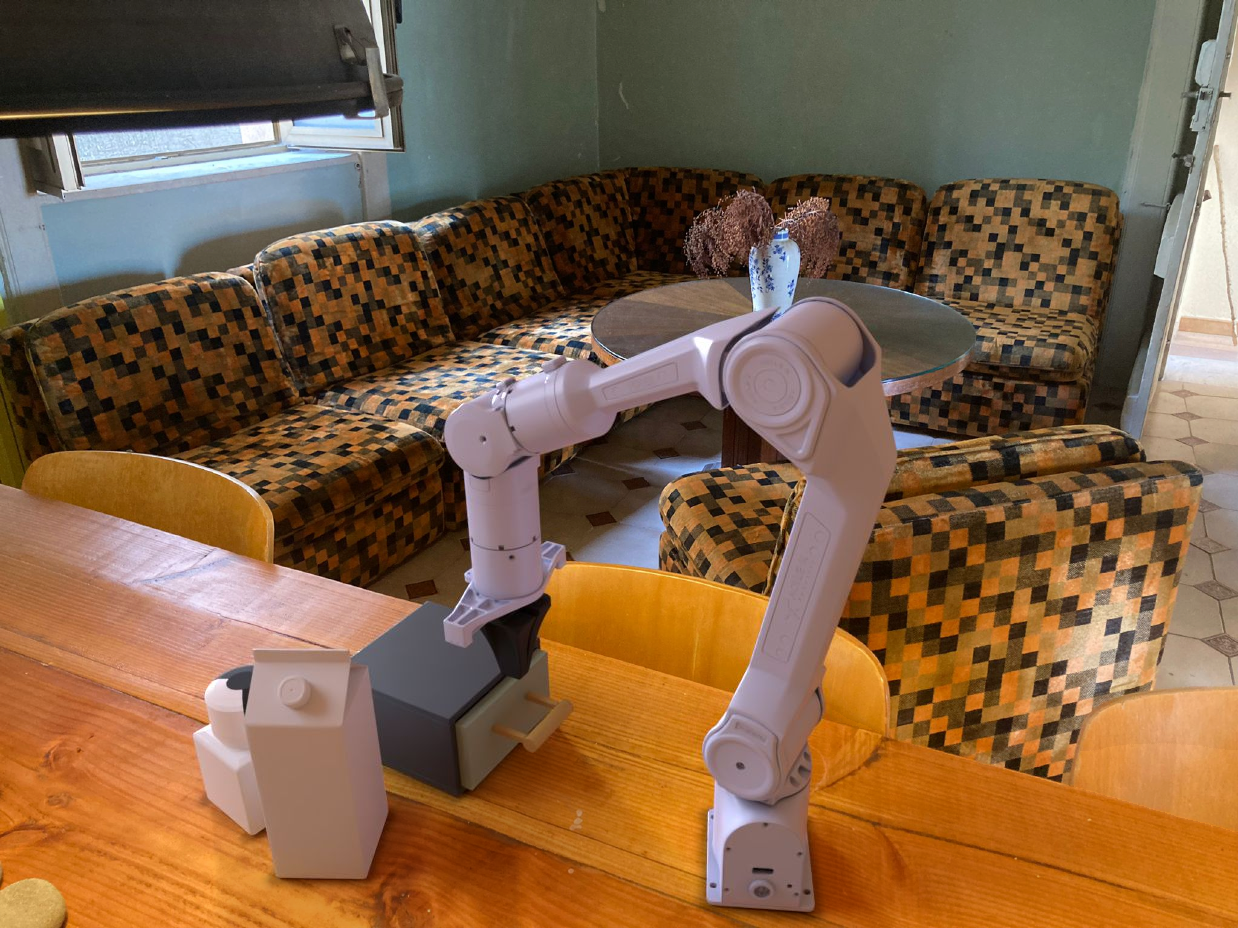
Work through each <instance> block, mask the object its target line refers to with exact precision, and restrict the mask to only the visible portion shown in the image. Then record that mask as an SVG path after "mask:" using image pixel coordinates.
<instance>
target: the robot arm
mask: <svg viewBox="0 0 1238 928" xmlns="http://www.w3.org/2000/svg"><path fill="white" fill-rule="evenodd" d="M781 307H782V306H781V305H777V306H771V307H767V308H762V309H759V310H755V311H753V312H747V313H745V314H742V315H738V316H735V317H732V318H728V319H726V320H722V321H719V322H715V323H713V324H710V325H708V326H705V327H703V328H700V329H697V330H695V331H693V332H690V333H688V334H686V335H683V336H681V337H678V338H676V339H673V340H671V341H668V342H666V343H664V344H661V345H658V346H656V347H653V348H652V349H649V350H646V351H644V352H641V353H638V354H636V355H634V356H631V357H628V358H626V359H624V360H622V361H619V362H617V363H615V364H612V365H610V366H607V367H604V368H603V367H601V366H600V365H598V364H596V363H595V362H594V361H591V360H588V359H585V358H576V359H573V360H570V361H568V359H567V357H566V356H565V355H560V356H557V357H555V358H552V359H550V360H548V361H546V362H544V363H542V364H541V369H542V371H541V372H538V373H536V374H533V375H530V376H528V377H526V378H525V377H524V378H523V379H520V380H518V381H517V379H516V378H515V377H514V376H511V377H507V378H506V379H503V380H501V381H499V382H498V383H496V387H495V388H493V389H492V390H489V391H487V392H485V393H483V394H481V395H480V396H478V397H477V396H476V398H474V399H471V400H469V401H466V402H463V403H461V404H460V405H459V406H458V407H457V408H456V409H454V410H453V411H451V412H450V414H449V415H448V416H447V418H446V420H445V423H444V431H443V433H444V434H443V435H444V441H445V445H446V449H447V451H448V453H449V455H450V456H451V458H452V460H453V461H454V462H455V463H456V465H457V466H458V467H459V468H461V470H463V479H464V490H465V500H466V513H467V524H468V536H469V547H470V557H471V558H470V559H471V568H469V569H468V570H467V571H466V572H465V573H464V581H465V582H466V583H468V586H467V588H466V589H465V591H464V593H463V595H462V596H461V598H460V600H459V602H458V603H457V605H456V606H455V608H454V609H455V610H454V611H453V612H452V614H451V615H450V616H449V617H447V618H446V619H445V620H444V621H443V622H444V631H445V641H447V642H449V643H452V644H454V645H457V646H461V647H464V648H466V647H467V646H468V645H470V644H471V643H472V642H473V640H472V635H473V634H474V633H475V632H476V631H477V630H479V629H480V630H481V632H482V633H483V635H484V636H485V638H486V639H487V641H488V643H489V645H490V647H491V649H492V651H493V653H494V656H495V658H496V660H497V663H498V666H499V668H500V671H501V673H502V674H504V675H506V676H509V677H512V678H515V679H518V680H520V679H522V678H523V677H524V676H525V675H526V674H527V673H528V671H529V668H530V664H531V660H532V655H533V650H534V646H535V642H536V638H537V637H538V635H539V632H540V629H541V626H542V624H543V621H544V620H545V617H546V616H547V614H548V612H549V610H550V609H551V607H552V597H551V595H550V594H548V593H546V592H545V591H546V589H547V587H548V584H549V583H550V580H551V578H552V576H553V573H554V572H555V569H556V570H561V569H562V568H564V567H565V566H566V565H567V552H566V551H567V549H566V547H567V546H565V545H563V544H560V543H556V542H553V541H549V540H546V541H545V542H544V543H542V533H541V532H542V531H541V515H540V514H541V513H540V497H539V496H540V495H539V475H538V474H539V473H538V468H539V467H541V455H545V454H548V453H550V452H553V451H556V450H560V449H564V448H566V447H570V446H572V445H573V446H574V445H575V444H579V443H583V442H585V441H589V440H592V439H595V438H599V437H602V436H604V435H605V434H607V433H608V432H609V431H610V429H611V428H612V426H613V424H614V422H615V420H616V418H617V414H618V413H619V412H623V411H626V410H630V409H634V408H637V407H641V406H644V405H648V404H653V403H656V402H659V401H662V400H663V401H664V400H667V399H670V398H675V397H677V396H681V395H686V394H688V393H692V392H698V393H700V394H701V396H703V397H704V398H705V400H707V402H708V403H709V404H710V405H711V406H712V407H714V408H715V409H716V410H719V411H723V410H724V409H725V408H727V407H728V406H730V407H731V408H732V409H733V411H734V413H735V414H736V415H737V416H739V418H740V419H741V420H742V421H743V422H744V423H745V424H746V425H747V426H748V427H750V428H751V429H752V430H753V431H754V432H756V434H758V435H759V436H760V437H761V438H763V440H765V441H766V442H767V443H768V444H770V445H771V446H772V447H773V448H774V449H776V451H778V452H779V453H780V454H781V455H782V456H784V457H785V458H786V459H788V460H789V461H790V462H791V463H792V464H793V465H794V466H796V467H797V468H798V469H799V470H800V471H801V473H802V474H803V476H804V477H805V479H806V484H805V487H804V490H803V493H802V497H801V500H800V502H799V507H798V509H797V512H796V515H795V518H794V522H793V525H792V527H791V531H790V534H789V538H788V541H787V544H786V547H785V550H784V553H783V556H782V559H781V562H780V566H779V570H778V572H777V574H776V575H777V576H776V579H775V581H774V585H773V589H772V592H771V594H770V598H769V601H768V604H767V607H766V609H765V613H764V616H763V620H762V623H761V626H760V629H759V633H758V635H757V639H756V642H755V646H754V648H753V652H752V655H751V658H750V661H749V664H748V666H747V668H746V671H745V673H744V675H743V676H742V679H741V681H740V682H739V684H738V686H737V688H736V690H735V693H734V694H733V696H732V698H731V700H730V702H729V704H728V707H727V709H726V711H725V713H724V714H723V715H722V717H721V718H720V719H719V721H718V722H717V724H716V725H715V726H713V727H712V728H711V729H710V730H708V732H707V734H706V735H705V737H704V739H703V743H702V749H701V751H702V758H703V762H704V764H705V766H706V769H707V771H708V772H709V773H710V775H711V777H712V778H713V779H714V793H713V794H714V795H713V808H710V809H709V810H708V812H707V842H706V843H707V847H706V849H707V851H706V852H707V853H706V902H707V904H709V905H711V906H717V907H718V906H720V907H733V908H748V909H763V910H766V909H767V910H776V911H777V910H778V911H792V912H805V913H811V912H813V911H815V910H814V909H815V907H816V906H815V905H816V902H815V894H814V893H815V891H814V884H813V873H812V866H811V855H810V846H809V836H808V819H809V817H808V816H809V806H810V795H811V784H812V774H813V773H812V771H813V762H812V753H811V750H810V745H809V738H810V736H811V734H812V733H813V731H814V729H816V727H817V726H818V724H819V723H820V722H821V721H822V720H823V717H824V715H825V711H826V700H825V695H824V690H823V681H824V678H825V675H826V672H827V667H826V666H825V664H824V663H825V661H826V658H827V656H828V652H829V650H830V647H831V644H832V642H833V639H834V636H835V633H836V630H837V628H838V626H839V623H840V620H841V617H842V615H843V611H844V609H845V606H846V603H847V601H848V598H849V595H850V592H851V590H852V588H853V585H854V582H855V580H856V577H857V574H858V571H859V568H860V565H861V562H862V560H863V558H864V555H865V552H866V549H867V547H868V544H869V541H870V538H871V535H872V533H873V530H874V527H875V524H876V522H877V519H878V517H879V514H880V512H881V511H880V510H881V508H882V505H883V503H884V500H885V498H886V494H887V493H888V492H887V491H888V489H889V487H890V484H891V481H892V478H893V475H894V472H895V470H896V468H897V461H898V448H897V444H896V440H895V439H896V438H895V436H894V431H893V427H892V421H891V417H890V413H889V409H888V403H887V399H886V395H885V390H884V386H883V381H882V348H881V346H880V345H879V344H878V342H877V341H876V339H875V338H874V337H873V334H872V333H871V332H870V331H869V330H868V328H867V327H866V325H865V324H864V322H863V321H862V320H861V318H860V316H858V314H857V313H856V312H855V311H854V310H853V309H852V308H850V306H848V305H847V304H845V303H844V302H842V301H840V300H839V299H834V298H833V297H827V296H811V297H805V298H803V299H800V300H799V301H797V302H795V303H793V304H792V305H789V307H788V308H787V309H786V310H785V311H784V312H783V313H781V315H780V316H778V317H777V318H775V319H774V317H775V315H776V314H777V313H778V312H779V310H780V309H781Z"/></svg>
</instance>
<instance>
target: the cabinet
mask: <svg viewBox="0 0 1238 928" xmlns="http://www.w3.org/2000/svg"><path fill="white" fill-rule="evenodd" d="M454 610H455V608H452V607H448V606H445V605H443V604H440V603H436V602H434V601H430V600H426V602H424V603H423V604H421V605H420V606H419V607H417V608H416V609H415V610H413V611H412V612H410V613H409V614H408V615H407V616H405V617H403V618H402V619H401V620H399V621H398V622H397V623H395V624H394V625H393V626H391V627H390V628H389V629H387V630H386V631H385V632H383V633H382V634H380V635H379V636H378V637H376V638H375V639H373V640H372V641H371V642H370V643H368V644H367V645H366V646H364V647H362V648H361V649H360V650H359V651H357V652H356V653H354V654H353V655H352V656H350V657H351V662H355V663H358V664H361V665H365V666H368V670H369V677H370V684H371V691H372V698H373V705H374V712H375V719H376V726H377V733H378V740H379V747H380V754H381V761H382V766H383V767H384V766H385V767H386V768H388V769H391V770H394V771H396V772H398V773H400V774H402V775H405V776H407V777H409V778H412V779H414V780H416V781H419V782H421V783H423V784H425V785H428V786H430V787H431V788H432V787H433V788H434V789H436V790H439V791H441V792H443V793H445V794H448V795H451V796H453V797H455V798H459V797H460V796H461V795H462V794H463V793H464V792H465V791H466V790H467V789H468V788H465V787H463V786H461V777H460V767H459V757H458V747H457V738H456V728H455V721H456V720H457V719H458V718H459V717H460V716H461V715H462V714H463V713H464V712H466V711H467V710H468V709H469V708H470V707H471V706H472V705H473V704H474V703H475V702H476V701H478V700H479V699H480V698H481V697H482V696H483V695H484V694H485V693H486V692H487V691H489V690H490V689H491V688H492V687H493V686H494V685H495V684H496V683H497V682H498V681H499V680H501V679H502V678H503V677H504V676H505V675H504V674H502V673H501V671H500V668H499V666H498V663H497V660H496V658H495V656H494V653H493V651H492V649H491V647H490V645H489V643H488V641H487V639H486V638H485V636H484V635H483V633H482V632H481V630H480V629H479V630H477V631H476V632H475V633H474V634H473V635H472V640H473V642H472V643H471V644H470V645H468V646H467V647H466V648H464V647H461V646H457V645H454V644H452V643H449V642H447V641H445V631H444V622H443V621H444V620H445V619H446V618H447V617H449V616H450V615H451V614H452V612H453V611H454ZM541 648H542V647H541V637H540V636H537V638H536V642H535V646H534V650H533V652H534V651H535V650H536V649H540V650H542V649H541Z"/></svg>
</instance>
